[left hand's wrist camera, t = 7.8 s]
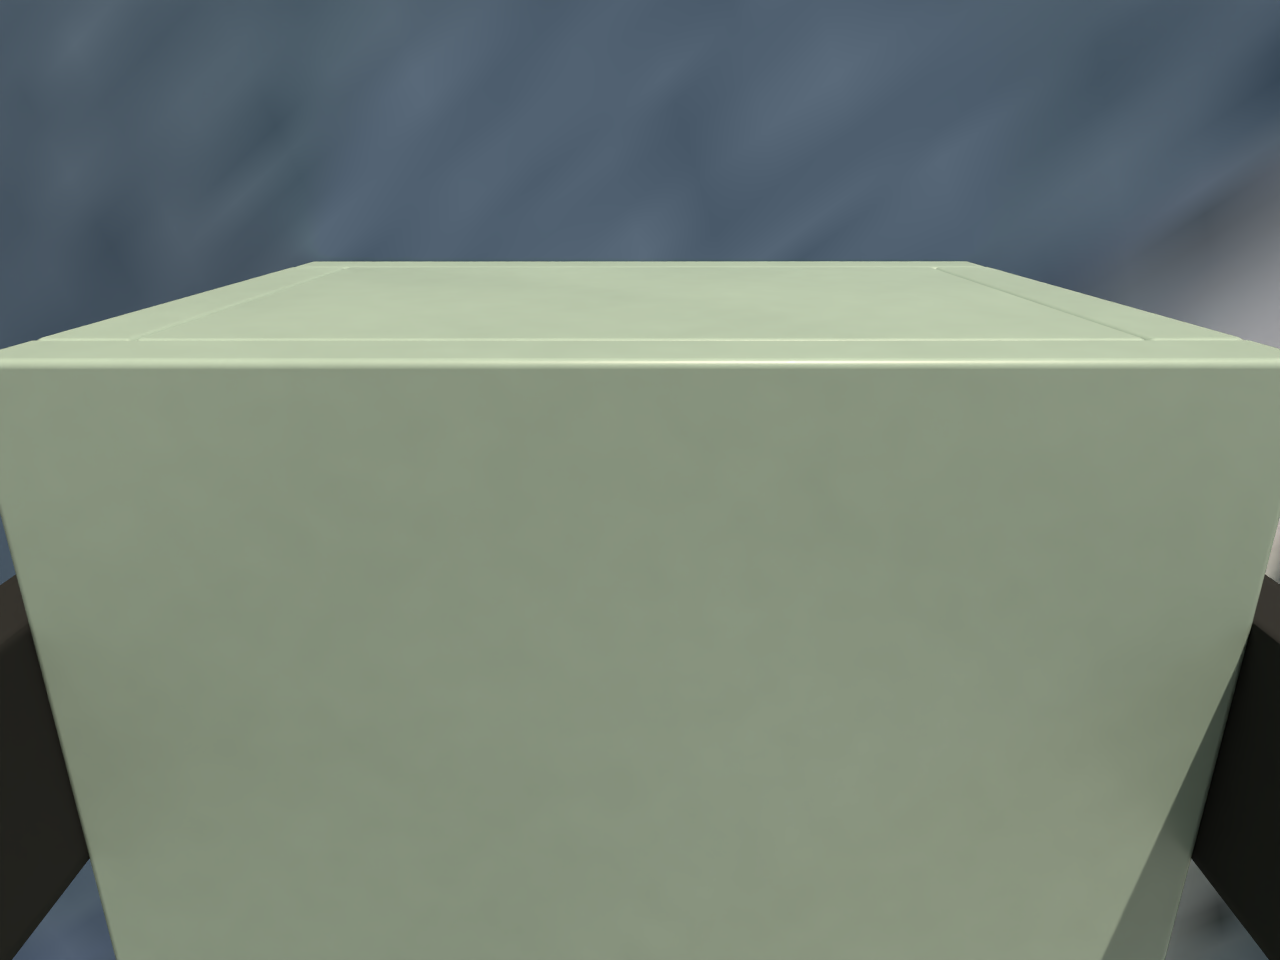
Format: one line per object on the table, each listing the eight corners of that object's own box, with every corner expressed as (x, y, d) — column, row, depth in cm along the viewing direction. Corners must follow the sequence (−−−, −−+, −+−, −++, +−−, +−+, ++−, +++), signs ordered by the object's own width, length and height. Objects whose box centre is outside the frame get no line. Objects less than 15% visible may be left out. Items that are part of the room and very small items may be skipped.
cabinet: (870, 1084, 22) (1000, 1602, 14) (410, 1084, 22) (279, 1603, 14) (970, 260, 15) (1324, 359, 7) (309, 261, 15) (-45, 359, 7)
